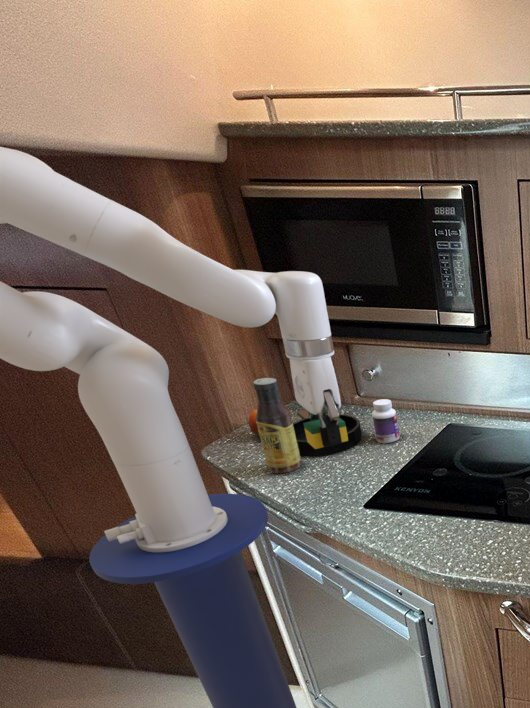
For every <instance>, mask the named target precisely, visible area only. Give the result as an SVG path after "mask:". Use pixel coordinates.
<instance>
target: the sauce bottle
mask: <svg viewBox="0 0 530 708" xmlns="http://www.w3.org/2000/svg"><path fill="white" fill-rule="evenodd" d="M252 385H253V390H255V393H256V397H257V407H256V410H257V416H256V423H257V428H258V431H259V435H260V437H259V438H260V443H261V446H262V450H263V454H264V457H265V462H266V465H267V466H268V469H269V470H270V472H272V473H275V474H288V473H290V472H294V471H295V470H297V469H299V468H300V467H301V465H302V460H301V456H300V453H299V449H298V444H297V440H296V435H295V431H294V427H293V423H294V422H293V421H292V417H291V416H292V415H291V412H290V409H289V407H288V406H286V405H285V404H284V402H283V401H282V400H281V396H280V394H279V389H278V387H279V384H278V381H277V379H276V378H273V377H262V378H257V379H255V380H254V381H253V382H252Z"/></svg>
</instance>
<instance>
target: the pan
mask: <svg viewBox="0 0 530 708" xmlns="http://www.w3.org/2000/svg"><path fill="white" fill-rule="evenodd" d="M296 414H297V416H298V417H299V418H300V420H297V421H295V422H293V427H294V431H295V435H296V440H297V444H298V449H299V453H300V457H309V458H311V457H324V456H331V455H334V454H339V453H342V452H345V451H347V450H350V449H352V448H354V447H356V446H357V445H358V444H359V443H360V442H361V441H362V439H363V434H362V427H361V422H360V419H358V418H357V417H356V416H354V415H349V414H345V413H344V414H343V413H342V414H341V413H339V418H340V419H342V420H343V421H344V422H345V425H346V431H347V436H348V441H345V442H342V443H341V444H337V445H334V446H330V447H322V448H318V449H315V448H313V447H312V446H311V445H310V444H309V443H308V442H307V438H306V433H305V429H304V424H303V423H306V422H310V417H309V415H308V410H306V409H303V410H298V411H296ZM325 416H328V414H326V415H325ZM311 419H313V418H311Z"/></svg>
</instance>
